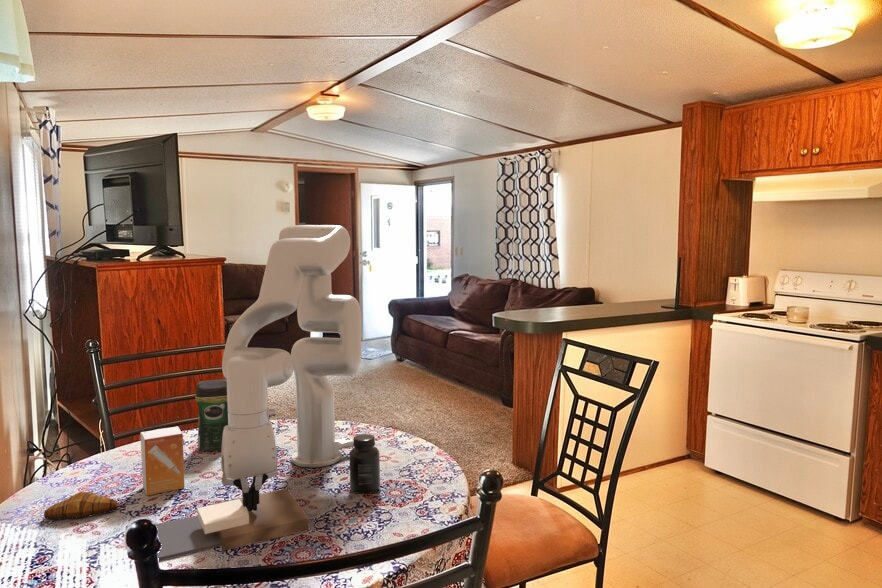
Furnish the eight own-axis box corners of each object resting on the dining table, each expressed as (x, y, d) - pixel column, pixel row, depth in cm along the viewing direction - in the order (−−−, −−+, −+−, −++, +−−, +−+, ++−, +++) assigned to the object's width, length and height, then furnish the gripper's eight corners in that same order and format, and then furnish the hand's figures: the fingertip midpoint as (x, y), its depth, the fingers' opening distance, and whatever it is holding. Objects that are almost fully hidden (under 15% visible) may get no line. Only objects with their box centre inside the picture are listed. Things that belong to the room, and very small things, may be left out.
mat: (215, 514, 125) (214, 511, 125) (227, 544, 113) (227, 541, 113) (150, 528, 119) (150, 525, 119) (156, 561, 107) (156, 558, 107)
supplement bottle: (385, 485, 140) (385, 434, 139) (370, 496, 134) (369, 444, 133) (360, 480, 143) (359, 430, 142) (343, 491, 137) (343, 439, 135)
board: (287, 499, 133) (287, 488, 132) (309, 529, 119) (308, 518, 118) (209, 515, 125) (209, 504, 125) (223, 550, 111) (223, 538, 111)
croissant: (121, 504, 131) (120, 481, 130) (114, 517, 124) (113, 494, 124) (49, 512, 127) (48, 489, 126) (38, 527, 120) (37, 502, 120)
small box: (146, 496, 134) (143, 439, 133) (142, 486, 139) (139, 431, 138) (185, 488, 138) (183, 432, 137) (180, 479, 144) (177, 425, 142)
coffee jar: (236, 440, 170) (233, 375, 168) (234, 450, 163) (232, 382, 161) (199, 444, 168) (196, 378, 166) (196, 453, 160) (193, 384, 158)
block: (239, 507, 123) (239, 499, 123) (249, 523, 116) (248, 514, 116) (197, 517, 119) (197, 508, 119) (204, 534, 112) (204, 524, 112)
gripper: (281, 408, 126) (283, 493, 128) (204, 419, 119) (208, 509, 120) (291, 418, 119) (293, 507, 121) (211, 430, 112) (214, 525, 114)
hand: (251, 508), depth 121 cm, fingers closed
